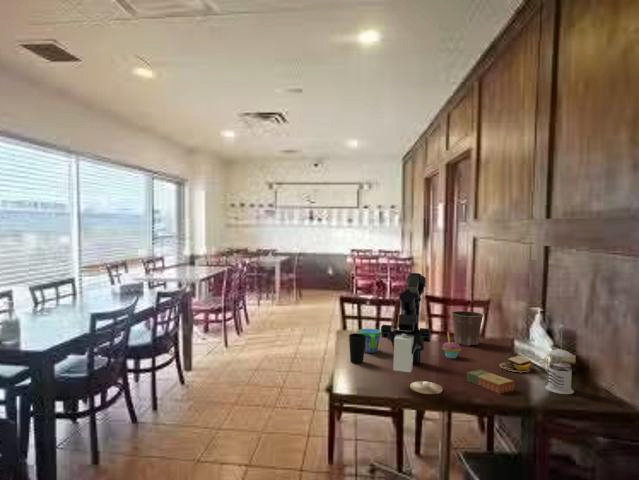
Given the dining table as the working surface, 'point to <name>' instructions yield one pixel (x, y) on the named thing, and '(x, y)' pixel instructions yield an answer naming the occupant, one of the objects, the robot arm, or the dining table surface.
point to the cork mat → (432, 390)
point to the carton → (490, 381)
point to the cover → (403, 353)
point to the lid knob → (426, 384)
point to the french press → (559, 372)
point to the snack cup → (371, 339)
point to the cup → (357, 347)
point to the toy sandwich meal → (517, 364)
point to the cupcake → (451, 348)
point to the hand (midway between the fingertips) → (403, 352)
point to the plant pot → (467, 327)
